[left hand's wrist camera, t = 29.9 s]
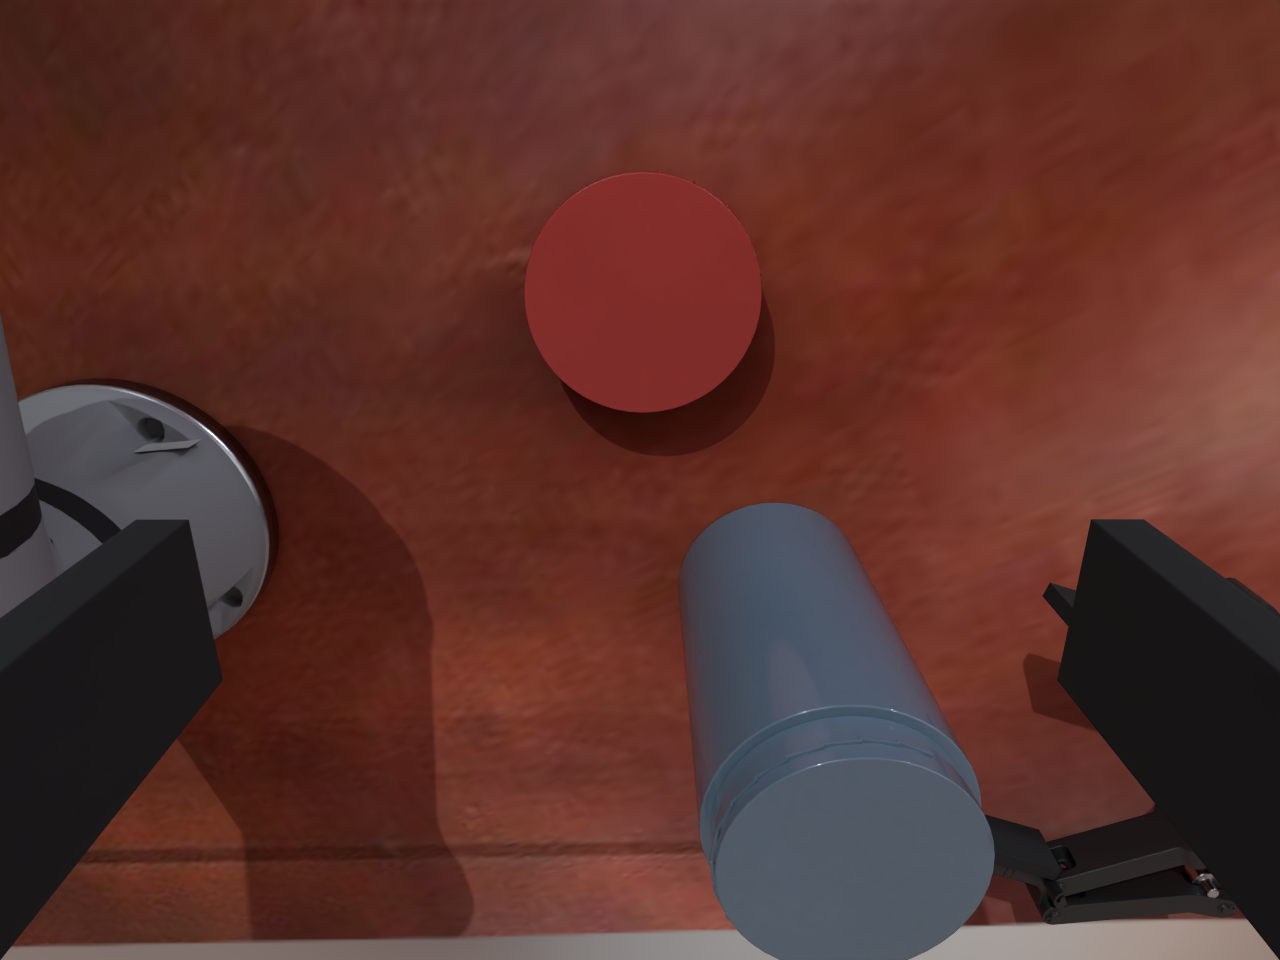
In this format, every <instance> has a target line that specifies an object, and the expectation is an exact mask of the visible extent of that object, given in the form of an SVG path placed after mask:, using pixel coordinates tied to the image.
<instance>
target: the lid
mask: <svg viewBox="0 0 1280 960" xmlns="http://www.w3.org/2000/svg"><path fill="white" fill-rule="evenodd" d="M697 185H698V183H696V182H694V181H693V183H691V182H689V181H687V180H685V179H682V178H679V177H676V176H673V175H669V174H664V173H661V171H657V172H647V171H639V172H627V173H623V172H622V171H621V172H619V174H617V175H612V176H610V177H607V178H604V179H601V180H599V181H597V182H595V183H593V184H591V185H589V186H588V185H585V186H583V189H582V190H580V191H579V192H577V193H576V194H575V195H573V196H572V197H570V198H569V199H568V200H567V201H566V202H565V203H564V204H562V205H561V206H560V207H559V208H557V209H555V210H554V211H553V213H554V214H553V215H552V216H551V218H550V219H549V220H548V221H547V222H546V224H545V226H544V227H543V229H542V231H541V232H540V234H539V236H538V237H537V240H536V241H535V242H534V243H533V245H534V246H533V249H532V251H531V254H530V258H529V261H528V265H527V270H526V276H525V280H524V282H525V285H524V300H525V309H526V316H527V320H528V324H529V328H530V331H531V334H532V336H533V339H534V341H535V344H536V346H537V348H538V349H539V351H540V353H541V355H542V357H543V358H544V360H545V361H546V362H547V364H548V365H549V367H550V368H551V369H552V370H553V372H554V373H555V374H556V375H557V376H558V377H559V378H560V379H561V380H562V381H563V382H564V383H566V384H567V385H568V386H569V387H570V388H572V389H573V390H574V391H576V392H577V393H579V394H580V395H582V396H584V397H585V398H587V399H589V400H591V401H593V402H595V403H597V404H600V405H603V406H606V407H609V408H612V409H616V410H621V411H626V412H639V413H647V412H659V411H665V410H670V409H674V408H677V407H680V406H683V405H686V404H688V403H690V402H693V401H695V400H697V399H699V398H701V397H702V396H704V395H705V394H707V393H709V392H710V391H712V390H713V389H714V388H715V387H717V386H718V385H719V384H720V383H722V382H723V381H724V380H725V379H726V378H727V377H728V376H729V375H730V373H731V372H732V371H733V370H734V369H735V368H736V366H737V365H738V364H739V362H740V361H741V359H742V358H743V357H744V355H745V353H746V351H747V349H748V347H749V346H750V344H751V341H752V339H753V336H754V334H755V331H756V328H757V324H758V320H759V316H760V309H761V301H762V283H761V273H760V269H759V264H758V261H757V257H756V254H755V251H754V248H753V246H752V244H751V241H750V239H751V238H750V237H749V236H748V235H747V234H746V232H745V230H744V229H743V227H742V225H741V224H740V222H739V221H738V220H737V218H736V217H735V216H734V215H733V213H732V212H731V211H730V210H729V209H728V208H729V207H728V206H727V205H726V204H723V203H722V202H721V201H720V200H719V199H717V198H716V197H714V196H713V195H712V194H710V193H709V192H707V191H706V190H704V189H703V188H701V187H699V186H697Z"/></svg>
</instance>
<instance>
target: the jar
mask: <svg viewBox="0 0 1280 960" xmlns="http://www.w3.org/2000/svg"><path fill="white" fill-rule="evenodd" d="M678 591H679V604H680V616H681V627H682V639H683V650H684V661H685V673H686V684H687V695H688V707H689V718H690V730H691V741H692V752H693V764H694V775H695V787H696V798H697V809H698V821H699V832H700V839H701V844H702V848H703V852H704V854H705V856H706V859H707V861H708V864H709V865H710V869H711V876H712V882H713V891H714V893H715V895H716V897H717V899H718V901H719V902H720V904H721V906H722V908H723V910H724V912H725V914H726V917H727V918H728V919H729V920H730V922H731V923H732V924H733V926H734V927H735V928H736V929H737V930H738V931H739V932H740V934H741V935H742V936H744V937H745V938H746V939H747V940H748V941H749V942H751V943H752V944H753V945H754V946H756V947H757V948H759V949H761V950H762V951H764V952H765V953H767V954H769V955H771V956H773V957H775V958H777V959H779V960H908V959H910V958H913V957H915V956H917V955H919V954H921V953H924V952H926V951H928V950H929V949H931V948H933V947H934V946H936V945H938V944H939V943H941V942H943V941H944V940H945V939H947V938H948V937H949V936H951V935H952V934H953V933H955V932H956V931H957V930H958V929H959V928H960V927H961V926H962V925H963V924H964V923H965V922H966V921H967V920H968V919H969V917H970V916H971V915H972V914H973V913H974V911H975V910H976V909H977V907H978V906H979V904H980V902H981V901H982V899H983V898H984V895H985V893H986V891H987V889H988V886H989V884H990V881H991V877H992V873H993V868H994V858H995V852H994V840H993V836H992V832H991V829H990V826H989V824H988V821H987V819H986V817H985V815H984V813H983V811H982V809H981V796H980V789H979V785H978V781H977V777H976V775H975V773H974V771H973V768H972V766H971V764H970V762H969V760H968V758H967V757H966V755H965V753H964V751H963V749H962V747H961V745H960V744H959V742H958V740H957V738H956V736H955V734H954V733H953V731H952V729H951V727H950V725H949V723H948V721H947V720H946V718H945V716H944V714H943V712H942V710H941V709H940V707H939V705H938V703H937V701H936V699H935V698H934V696H933V694H932V692H931V690H930V688H929V686H928V685H927V683H926V681H925V679H924V677H923V675H922V674H921V672H920V670H919V668H918V666H917V664H916V662H915V661H914V659H913V657H912V655H911V653H910V651H909V650H908V648H907V646H906V644H905V642H904V640H903V639H902V637H901V635H900V633H899V631H898V629H897V627H896V626H895V624H894V622H893V620H892V618H891V616H890V615H889V613H888V611H887V609H886V607H885V605H884V604H883V602H882V600H881V598H880V596H879V594H878V592H877V591H876V589H875V587H874V585H873V583H872V581H871V580H870V578H869V576H868V574H867V572H866V570H865V568H864V567H863V565H862V563H861V561H860V559H859V557H858V556H857V554H856V552H855V550H854V548H853V546H852V545H851V543H850V541H849V540H848V538H847V537H846V535H845V534H844V533H843V532H842V531H841V530H840V529H839V528H838V527H837V526H836V525H835V524H834V523H833V522H831V521H830V520H829V519H827V518H826V517H824V516H822V515H821V514H819V513H817V512H815V511H812V510H810V509H808V508H804V507H801V506H798V505H792V504H787V503H762V504H756V505H751V506H747V507H744V508H741V509H737V510H735V511H733V512H731V513H729V514H726V515H725V516H723V517H721V518H720V519H718V520H716V521H715V522H714V523H712V524H711V525H710V526H709V527H707V528H706V529H705V530H704V531H703V532H702V533H701V534H700V535H699V536H698V537H697V539H696V540H695V541H694V543H693V544H692V546H691V547H690V549H689V551H688V552H687V554H686V556H685V559H684V561H683V564H682V566H681V571H680V575H679V584H678Z"/></svg>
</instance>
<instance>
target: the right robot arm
mask: <svg viewBox="0 0 1280 960" xmlns="http://www.w3.org/2000/svg"><path fill="white" fill-rule="evenodd" d="M1226 579H1227V580H1228V581H1229V582H1231V583H1232V584H1234V585H1235V586H1236V587H1238V588H1239V589H1240V590H1242V591H1243V592H1245V593H1246V594H1247V595H1249V596H1250V597H1251V598H1253V599H1254V600H1256V601H1257V602H1258V603H1260V604H1261V605H1263V606H1264V607H1265V608H1267V609H1268V610H1269V611H1271V612H1272V613H1274V614H1275V615H1276V616H1278V617H1279V618H1280V614H1279V613H1278V612H1277V611H1276V610H1275V608H1274V607H1273V606H1271V605H1270V604H1269V603H1267V602H1266V601H1265V600H1263V599H1262V598H1261V597H1259V596H1258V595H1257V594H1255V593H1254V592H1253V591H1251V590H1250V589H1249V588H1247V587H1246V586H1245V585H1243V584H1242V583H1241V582H1239V581H1238V580H1236V579H1235V578H1226ZM1075 594H1076V591H1075V590H1072V589H1069V588H1066V587H1062V586H1059V585H1056V584H1053V583H1050V584H1049V585H1048V587H1047V589H1046V591H1045V592H1044V594H1043V597H1044V598H1045V599H1046V601H1047V602H1048V603H1049V604H1050V605H1051V607H1052V608H1053V609H1054V610H1055V611H1056V612H1057V614H1058V615H1059V616H1060V617H1061V618H1062V619H1063V621H1064V622H1065V623H1066V624H1067V625H1068V626H1069V623H1070V618H1071V613H1072V608H1073V604H1074V599H1075ZM985 817H986V819H987V821H988V824H989V826H990V829H991V832H992V836H993V840H994V852H995V858H994V868H993V873H992V874H996V875H1000V876H1003V877H1007V878H1011V879H1014V880H1018V881H1022V882H1025V884H1026V886H1027V888H1028V890H1029V892H1030V894H1031V896H1032V898H1033V900H1034V903H1035V905H1036V907H1037V909H1038V911H1039V913H1040V915H1041V917H1042V919H1043V921H1044V922H1045V923H1047V924H1052V925H1055V924H1066V923H1077V922H1088V921H1099V920H1110V919H1121V918H1132V917H1143V916H1154V915H1165V914H1176V913H1187V912H1191V913H1197V914H1202V915H1208V916H1214V917H1220V918H1225V917H1229V916H1231V915H1233V914H1234V913H1235V912H1236V910H1237V906H1236V904H1235V903H1234V902H1233V901H1232V899H1231V898H1230V897H1229V896H1228V894H1227V893H1226V892H1225V891H1224V889H1223V888H1222V887H1221V886H1220V884H1219V883H1218V882H1217V880H1216V879H1215V878H1214V877H1213V875H1212V874H1211V873H1210V872H1209V870H1208V869H1207V868H1206V867H1205V865H1204V864H1203V863H1202V862H1201V860H1200V859H1199V858H1198V857H1197V855H1196V854H1195V853H1194V852H1193V850H1192V849H1191V848H1190V846H1189V845H1188V844H1187V843H1186V841H1185V840H1184V839H1183V838H1182V836H1181V835H1180V834H1179V833H1178V831H1177V830H1176V829H1175V828H1174V826H1173V825H1172V824H1171V823H1170V821H1169V820H1168V819H1167V818H1166V816H1165V815H1164V814H1163V813H1162V811H1161V810H1160V809H1159V807H1158V806H1157V805H1155V809H1154V811H1153V812H1152V813H1149V814H1146V815H1142V816H1139V817H1135V818H1131V819H1128V820H1124V821H1121V822H1117V823H1114V824H1110V825H1106V826H1103V827H1099V828H1096V829H1092V830H1089V831H1085V832H1081V833H1078V834H1074V835H1071V836H1067V837H1063V838H1060V839H1056V840H1053V841H1049V842H1046V841H1045V840H1044V838H1043V836H1042V834H1041V832H1040V831H1039V830H1038V829H1034V828H1031V827H1027V826H1024V825H1020V824H1017V823H1013V822H1009V821H1006V820H1002V819H999V818H995V817H991V816H988V815H985ZM1060 864H1063V865H1065V866H1066V867H1067V868H1061V866H1060Z"/></svg>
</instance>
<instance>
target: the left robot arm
mask: <svg viewBox="0 0 1280 960" xmlns="http://www.w3.org/2000/svg"><path fill="white" fill-rule="evenodd" d="M277 548H278V527H277V519H276V513H275V509H274V505H273V502H272V498H271V496H270V493H269V490H268V488H267V485H266V483H265V481H264V479H263V477H262V475H261V473H260V471H259V470H258V468H257V467H256V465H255V463H254V462H253V460H252V459H251V457H250V456H249V455H248V453H247V452H246V451H245V449H244V448H243V447H242V446H241V445H240V444H239V442H238V441H237V440H236V439H235V438H234V437H233V436H232V435H231V434H230V433H229V432H228V431H227V430H226V429H225V428H224V427H223V426H222V425H220V424H219V423H218V422H217V421H215V420H214V419H213V418H212V417H211V416H209V415H208V414H206V413H205V412H203V411H202V410H200V409H199V408H198V407H196V406H194V405H192V404H191V403H189V402H187V401H185V400H184V399H181V398H179V397H177V396H175V395H173V394H171V393H169V392H166V391H163V390H161V389H158V388H155V387H152V386H148V385H145V384H141V383H137V382H132V381H127V380H118V379H84V380H76V381H71V382H66V383H63V384H60V385H57V386H53V387H51V388H48V389H46V390H43V391H41V392H38V393H35V394H33V395H31V396H29V397H26V398H24V399H22V400H20V401H18V399H17V394H16V389H15V384H14V379H13V375H12V370H11V365H10V360H9V355H8V350H7V345H6V340H5V335H4V330H3V325H2V320H1V315H0V960H1V959H2V957H3V956H4V955H5V954H6V952H7V951H8V950H9V948H10V947H11V946H12V945H13V943H14V942H15V941H16V940H17V938H18V937H19V936H20V935H21V933H22V932H23V931H24V930H25V928H26V927H27V926H28V925H29V923H30V922H31V921H32V920H33V918H34V917H35V916H36V914H37V913H38V912H39V911H40V909H41V908H42V907H43V906H44V904H45V903H46V902H47V901H48V899H49V898H50V897H51V896H52V894H53V893H54V892H55V891H56V889H57V888H58V887H59V886H60V884H61V883H62V882H63V880H64V879H65V878H66V877H67V875H68V874H69V873H70V872H71V870H72V869H73V868H74V867H75V865H76V864H77V863H78V862H79V860H80V859H81V858H82V857H83V855H84V854H85V853H86V852H87V850H88V849H89V848H90V846H91V845H92V844H93V843H94V841H95V840H96V839H97V838H98V836H99V835H100V834H101V833H102V831H103V830H104V829H105V828H106V826H107V825H108V824H109V823H110V821H111V820H112V819H113V818H114V816H115V815H116V814H117V813H118V811H119V810H120V809H121V807H122V806H123V805H124V804H125V802H126V801H127V800H128V799H129V797H130V796H131V795H132V794H133V792H134V791H135V790H136V789H137V787H138V786H139V785H140V784H141V782H142V781H143V780H144V779H145V777H146V776H147V775H148V773H149V772H150V771H151V770H152V768H153V767H154V766H155V765H156V763H157V762H158V761H159V760H160V758H161V757H162V756H163V755H164V753H165V752H166V751H167V750H168V748H169V747H170V746H171V745H172V743H173V742H174V741H175V739H176V738H177V737H178V736H179V734H180V733H181V732H182V731H183V729H184V728H185V727H186V726H187V724H188V723H189V722H190V721H191V719H192V718H193V717H194V716H195V714H196V713H197V712H198V711H199V709H200V708H201V707H202V705H203V704H204V703H205V702H206V700H207V699H208V698H209V697H210V695H211V694H212V693H213V692H214V690H215V689H216V688H217V687H218V685H219V684H220V683H221V682H222V675H221V670H220V666H219V661H218V656H217V651H216V647H215V642H214V639H216V638H217V637H219V636H220V635H222V634H223V633H225V632H226V631H228V630H229V629H230V628H231V627H232V626H234V625H235V624H236V623H237V622H238V621H239V620H240V619H241V618H242V617H243V616H244V614H245V613H246V612H247V611H248V610H249V609H250V607H251V606H252V605H253V604H254V603H255V602H256V600H257V599H258V598H259V596H260V595H261V594H262V592H263V590H264V589H265V587H266V585H267V583H268V581H269V579H270V576H271V574H272V571H273V568H274V564H275V561H276V555H277ZM1058 682H1059V683H1060V684H1061V685H1062V687H1063V688H1064V689H1065V690H1066V692H1067V693H1068V694H1069V695H1070V697H1071V698H1072V699H1073V700H1074V702H1075V703H1076V704H1077V705H1078V707H1079V708H1080V709H1081V711H1082V712H1083V713H1084V714H1085V716H1086V717H1087V718H1088V719H1089V721H1090V722H1091V723H1092V724H1093V726H1094V727H1095V728H1096V729H1097V731H1098V732H1099V733H1100V734H1101V736H1102V737H1103V738H1104V739H1105V741H1106V742H1107V743H1108V745H1109V746H1110V747H1111V748H1112V750H1113V751H1114V752H1115V753H1116V755H1117V756H1118V757H1119V758H1120V760H1121V761H1122V762H1123V763H1124V765H1125V766H1126V767H1127V768H1128V770H1129V771H1130V772H1131V773H1132V775H1133V776H1134V777H1135V779H1136V780H1137V781H1138V782H1139V784H1140V785H1141V786H1142V787H1143V789H1144V790H1145V791H1146V792H1147V794H1148V795H1149V796H1150V797H1151V799H1152V800H1153V801H1154V802H1155V804H1156V805H1157V806H1158V807H1159V809H1160V810H1161V811H1162V813H1163V814H1164V815H1165V816H1166V818H1167V819H1168V820H1169V821H1170V823H1171V824H1172V825H1173V826H1174V828H1175V829H1176V830H1177V831H1178V833H1179V834H1180V835H1181V836H1182V838H1183V839H1184V840H1185V841H1186V843H1187V844H1188V845H1189V846H1190V848H1191V849H1192V850H1193V852H1194V853H1195V854H1196V855H1197V857H1198V858H1199V859H1200V860H1201V862H1202V863H1203V864H1204V865H1205V867H1206V868H1207V869H1208V870H1209V872H1210V873H1211V874H1212V875H1213V877H1214V878H1215V879H1216V880H1217V882H1218V883H1219V884H1220V886H1221V887H1222V888H1223V889H1224V891H1225V892H1226V893H1227V894H1228V896H1229V897H1230V898H1231V899H1232V901H1233V902H1234V903H1235V904H1236V906H1237V907H1238V908H1239V909H1240V911H1241V912H1242V913H1243V914H1244V916H1245V917H1246V918H1247V920H1248V921H1249V922H1250V923H1251V925H1252V926H1253V927H1254V928H1255V930H1256V931H1257V932H1258V933H1259V935H1260V936H1261V937H1262V938H1263V940H1264V941H1265V942H1266V943H1267V945H1268V946H1269V947H1270V948H1271V950H1272V951H1273V952H1274V954H1275V955H1276V956H1277V957H1278V959H1279V960H1280V618H1279V617H1278V616H1276V615H1275V614H1274V613H1272V612H1271V611H1269V610H1268V609H1267V608H1265V607H1264V606H1263V605H1261V604H1260V603H1258V602H1257V601H1256V600H1254V599H1253V598H1251V597H1250V596H1249V595H1247V594H1246V593H1245V592H1243V591H1242V590H1240V589H1239V588H1238V587H1236V586H1235V585H1234V584H1232V583H1231V582H1229V581H1228V580H1227V579H1225V578H1224V577H1222V576H1221V575H1220V574H1218V573H1217V572H1216V571H1214V570H1213V569H1211V568H1210V567H1209V566H1207V565H1206V564H1205V563H1203V562H1202V561H1200V560H1199V559H1198V558H1196V557H1195V556H1193V555H1192V554H1191V553H1189V552H1188V551H1187V550H1185V549H1184V548H1182V547H1181V546H1180V545H1178V544H1177V543H1176V542H1174V541H1173V540H1171V539H1170V538H1169V537H1167V536H1166V535H1165V534H1163V533H1162V532H1160V531H1159V530H1158V529H1156V528H1155V527H1153V526H1152V525H1151V524H1149V523H1148V522H1147V521H1145V520H1091V523H1090V528H1089V532H1088V537H1087V542H1086V547H1085V551H1084V556H1083V561H1082V566H1081V570H1080V575H1079V580H1078V585H1077V589H1076V594H1075V599H1074V604H1073V608H1072V613H1071V618H1070V623H1069V628H1068V632H1067V637H1066V642H1065V647H1064V651H1063V656H1062V661H1061V666H1060V670H1059V675H1058Z"/></svg>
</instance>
